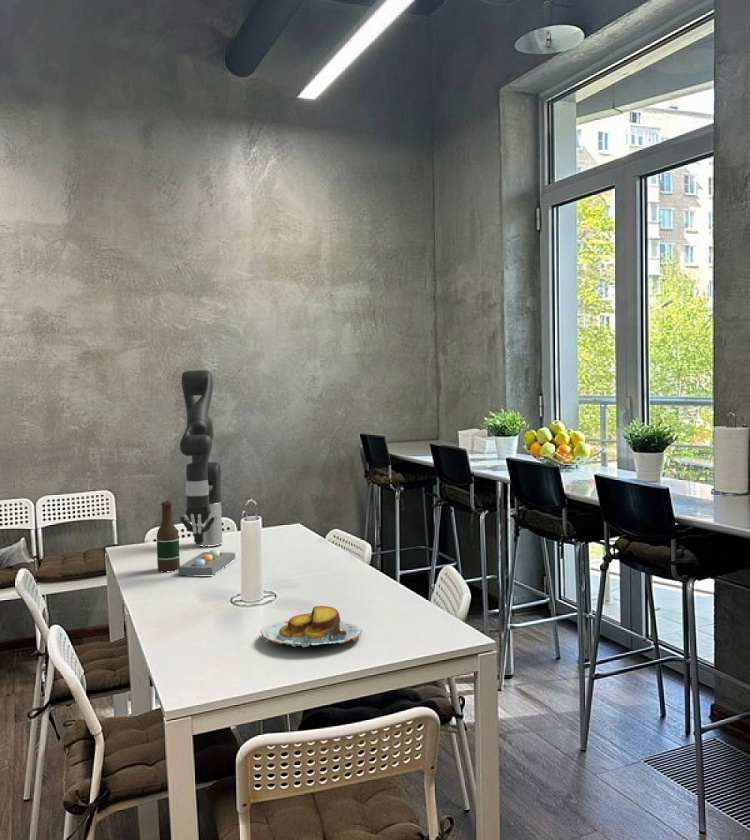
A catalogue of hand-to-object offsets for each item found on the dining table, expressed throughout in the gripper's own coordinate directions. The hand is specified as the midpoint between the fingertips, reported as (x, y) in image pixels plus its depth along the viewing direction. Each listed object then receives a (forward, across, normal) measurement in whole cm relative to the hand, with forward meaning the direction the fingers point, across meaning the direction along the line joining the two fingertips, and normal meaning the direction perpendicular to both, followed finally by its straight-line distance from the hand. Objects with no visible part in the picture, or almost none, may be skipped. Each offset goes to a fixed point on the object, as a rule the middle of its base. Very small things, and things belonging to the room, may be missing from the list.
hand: (198, 544), depth 261 cm
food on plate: (+11, -54, +60) cm, 81 cm away
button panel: (+10, 0, -8) cm, 13 cm away
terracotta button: (+9, 0, -7) cm, 11 cm away
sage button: (+9, 0, -14) cm, 17 cm away
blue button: (+9, 0, 0) cm, 9 cm away
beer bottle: (+10, +13, -4) cm, 17 cm away
